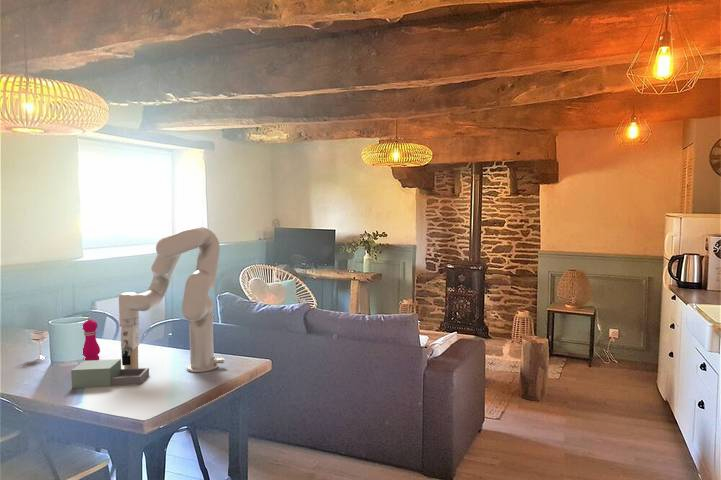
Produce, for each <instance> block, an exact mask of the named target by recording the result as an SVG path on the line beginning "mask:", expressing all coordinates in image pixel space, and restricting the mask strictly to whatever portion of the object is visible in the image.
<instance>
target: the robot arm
mask: <svg viewBox="0 0 721 480" xmlns="http://www.w3.org/2000/svg"><path fill="white" fill-rule="evenodd" d="M194 249H199V251H198V255H197V258H196V266H195V271H194V272H192V273H191V274H190V275H188V277H187V279H186V282H185V284H184V291H183V298H182V305H181V314H182V316H183V317H184V318H185V320H187V321H188V322H189V352H190V353H189V355H190V358H189V360H190V361H189V362H190V363H189V364H188V365H187V366H186V370H187V371H188V372H191V373H205V372H211V371H212V370H215V369H217V368H218V367H219V365H218V364H222V365H223V364H225V358H223V357H216V354H214V353H215V351H214V311H215V306H214V305H215V304H214V301H213V299H212V297H211V296H209V291H211V290H212V289H213V288H214V286H215V285H216V280H217V279H216V278H217V274H218V273H217V271H218V266H219V258H220V250H221V248H220V241H219V239H218V237H217V235H216V234H215V233H214V232H213V231H212V230H210V229H209V228H207V227H205V226H204V227H203V226H196V227H190V228H186V229H184V230H181V231H179V232H177V233H173V234H171V235H169V236H166V237H163V238H161V239H159V241H158V242H157V243H156V245H155V251H156V256H155V259H154V262H153V263H152V265H151V272H152V280H151V283H150V285H149V287H148V289H147V290H146V291H144V292H142V293H137V292H134V291H126V292H122V293H119V295H118V313H119V314H118V315H119V327H121V330H120V350H121V366H124V365H130V364H131V358H130V350H131V349H132V350H134V349H135V348H136V347H137V348H138V349H139V345H140V344H141V341H140V339H141V338H140V328H139V325H140V315H139V313H140V312H148V311H150V310H151V309H154V308H156V307H158V306H159V305H160V304H161V303H162V301H163V299H164V297H165V295H166V293H167V291H168V288H169V286H170V282H171V278H172V275H173V272H174V270H175V268H176V266H177V264H178V263H179V262H178V261H179V260H180V258H181V257H182V254H184V253H187V252H189V251H193V250H194ZM127 351H128V352H127Z"/></svg>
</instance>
